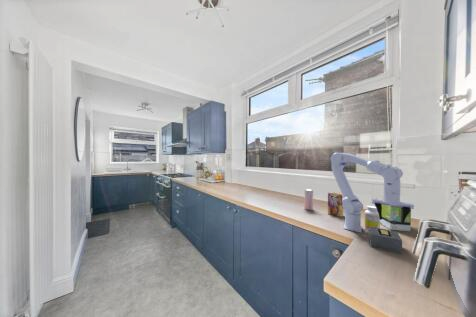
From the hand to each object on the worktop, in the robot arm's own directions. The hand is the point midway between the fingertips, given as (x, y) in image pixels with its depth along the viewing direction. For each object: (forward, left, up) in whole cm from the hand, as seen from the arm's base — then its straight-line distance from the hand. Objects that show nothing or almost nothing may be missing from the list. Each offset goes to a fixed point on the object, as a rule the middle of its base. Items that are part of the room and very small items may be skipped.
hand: (391, 220), depth 79 cm
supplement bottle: (-13, -6, -11) cm, 18 cm away
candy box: (-28, -25, -11) cm, 39 cm away
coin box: (+6, -3, -10) cm, 12 cm away
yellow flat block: (+6, -3, -10) cm, 12 cm away
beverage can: (-30, -43, -11) cm, 53 cm away
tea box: (-27, +4, -11) cm, 29 cm away
